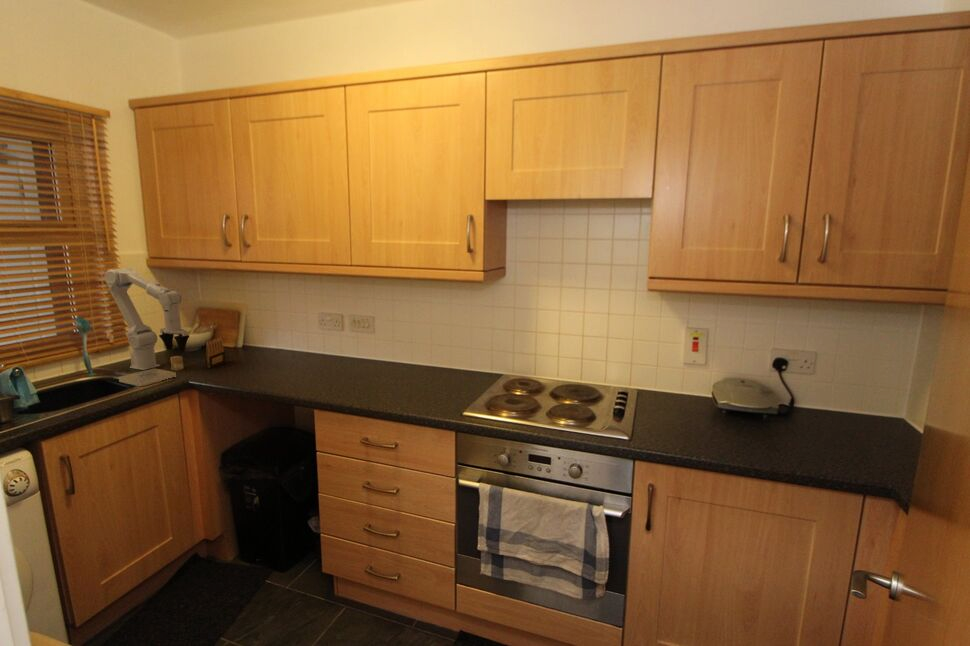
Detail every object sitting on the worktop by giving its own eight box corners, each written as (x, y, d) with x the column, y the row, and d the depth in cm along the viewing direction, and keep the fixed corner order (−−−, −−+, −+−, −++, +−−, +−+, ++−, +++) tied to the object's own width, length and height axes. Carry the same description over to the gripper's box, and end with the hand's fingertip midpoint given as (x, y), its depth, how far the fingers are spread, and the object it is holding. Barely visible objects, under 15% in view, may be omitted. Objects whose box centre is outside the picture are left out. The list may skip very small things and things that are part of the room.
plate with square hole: (119, 381, 199) (118, 377, 199) (154, 372, 212) (154, 368, 211) (141, 386, 193) (140, 381, 193) (176, 377, 206) (175, 372, 205)
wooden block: (171, 369, 217) (170, 357, 216) (178, 367, 220) (177, 355, 219) (176, 370, 215) (175, 358, 214) (183, 368, 218) (182, 356, 217)
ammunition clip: (222, 361, 230) (219, 336, 228) (226, 362, 230) (223, 336, 227) (206, 368, 219) (203, 341, 217) (210, 368, 219) (207, 341, 217)
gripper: (151, 319, 212) (155, 350, 214) (175, 322, 207) (178, 354, 209) (167, 317, 218) (170, 347, 221) (191, 319, 213) (194, 350, 215)
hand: (175, 350), depth 215 cm, fingers open, 7 cm apart
